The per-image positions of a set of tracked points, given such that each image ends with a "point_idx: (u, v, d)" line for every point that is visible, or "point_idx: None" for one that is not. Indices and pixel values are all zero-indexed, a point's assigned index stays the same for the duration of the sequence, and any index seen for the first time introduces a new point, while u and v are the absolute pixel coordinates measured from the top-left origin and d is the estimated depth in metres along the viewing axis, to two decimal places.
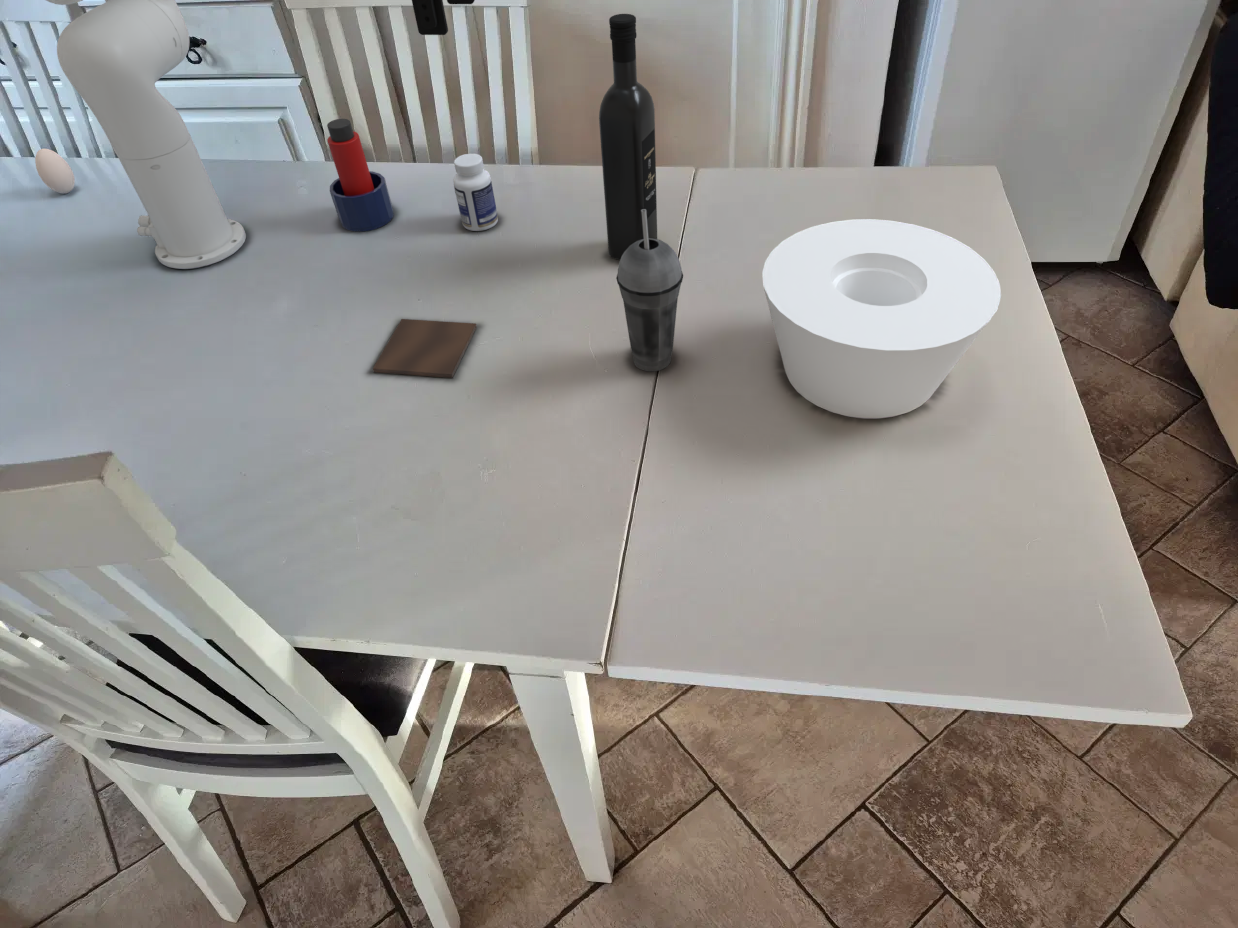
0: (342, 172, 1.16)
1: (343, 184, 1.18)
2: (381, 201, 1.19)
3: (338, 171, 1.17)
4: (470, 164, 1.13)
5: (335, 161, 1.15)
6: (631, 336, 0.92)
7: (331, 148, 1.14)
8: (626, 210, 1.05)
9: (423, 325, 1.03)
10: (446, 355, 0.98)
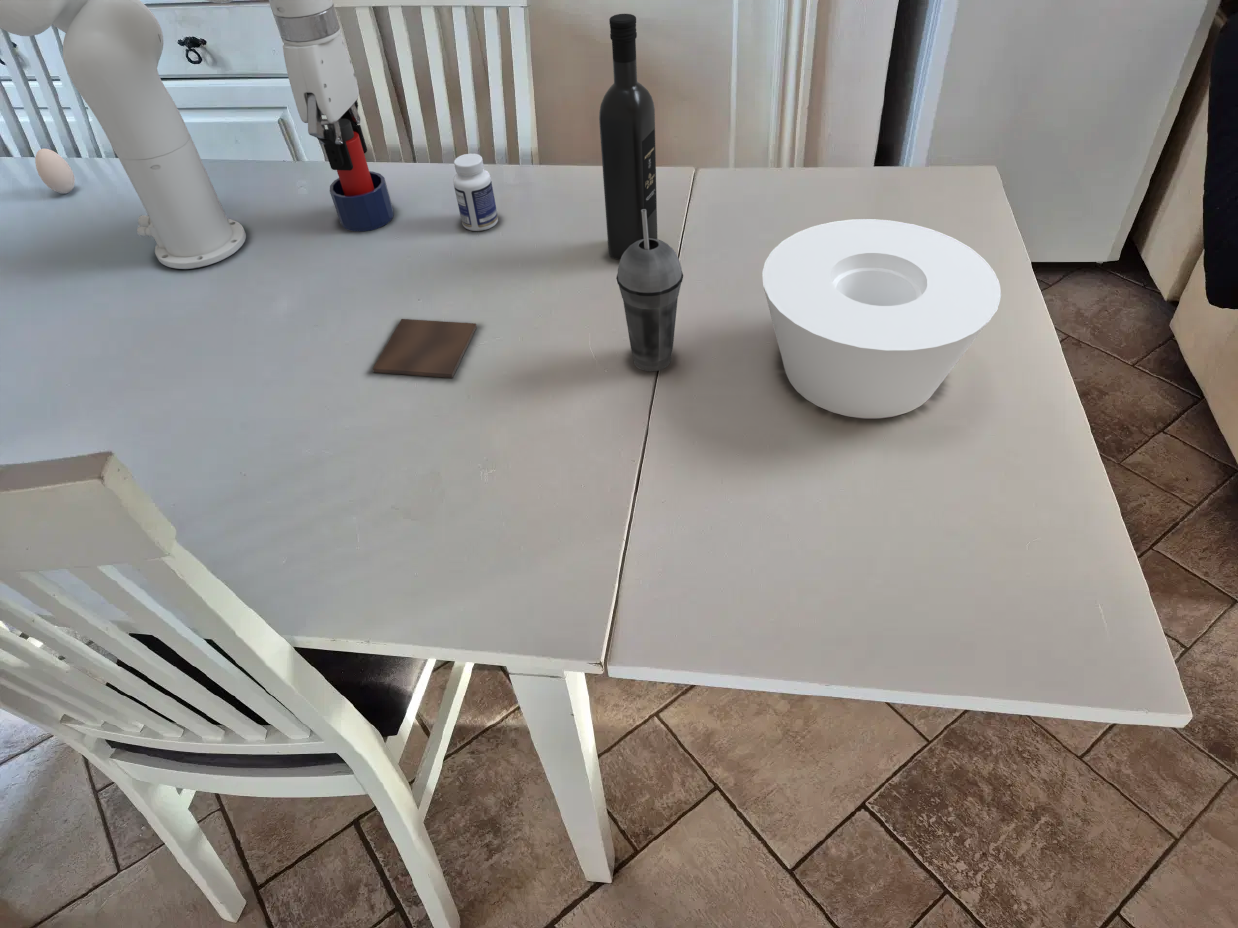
0: (342, 172, 1.16)
1: (343, 184, 1.18)
2: (381, 201, 1.19)
3: (338, 171, 1.17)
4: (470, 164, 1.13)
5: None
6: (631, 336, 0.92)
7: None
8: (626, 210, 1.05)
9: (423, 325, 1.03)
10: (446, 355, 0.98)
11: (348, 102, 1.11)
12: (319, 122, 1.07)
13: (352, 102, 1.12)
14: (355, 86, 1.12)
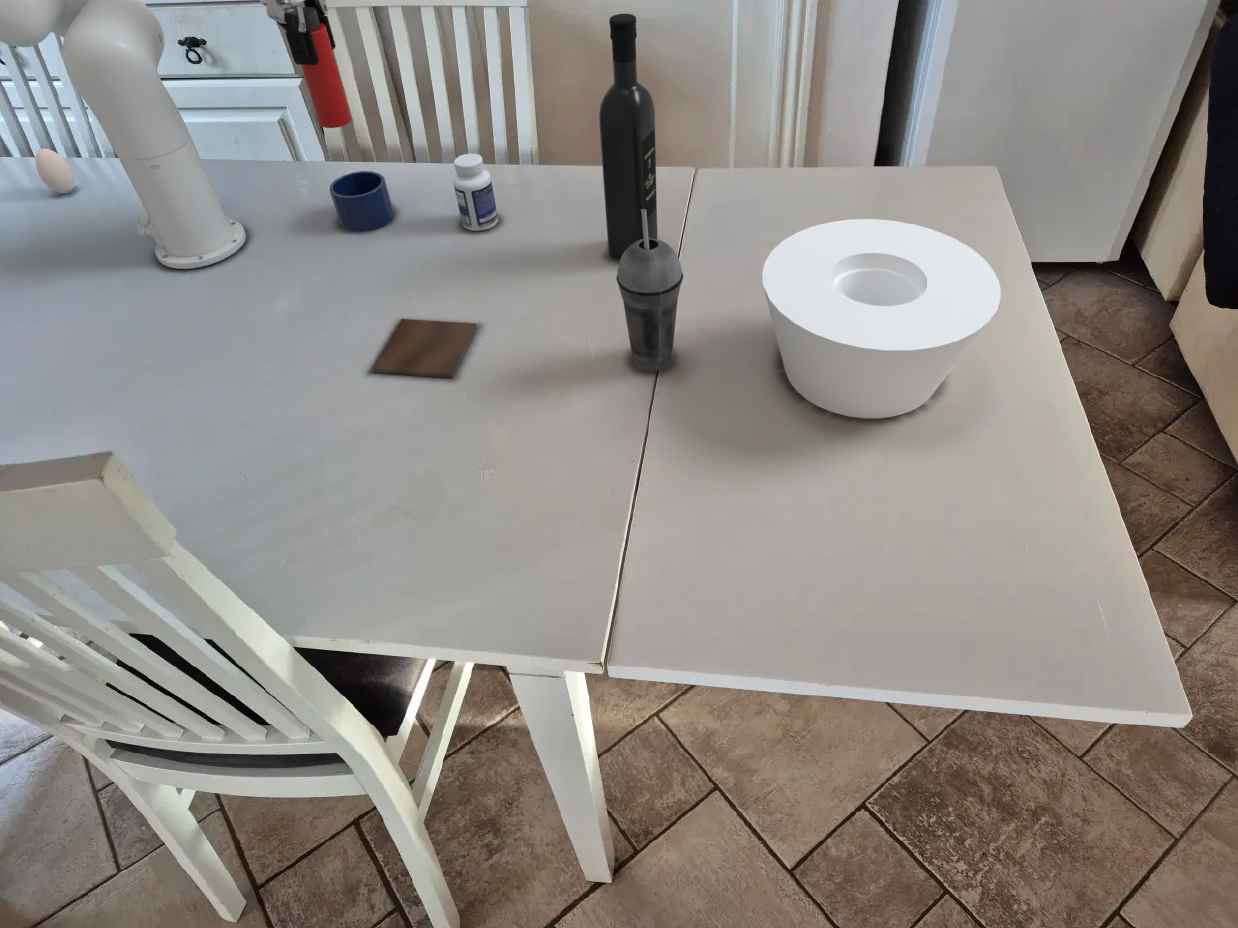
0: (307, 67, 1.05)
1: (309, 83, 1.07)
2: (381, 201, 1.19)
3: (303, 67, 1.06)
4: (470, 164, 1.13)
5: None
6: (631, 336, 0.92)
7: None
8: (626, 210, 1.05)
9: (423, 325, 1.03)
10: (446, 355, 0.98)
11: None
12: (279, 2, 0.97)
13: None
14: None
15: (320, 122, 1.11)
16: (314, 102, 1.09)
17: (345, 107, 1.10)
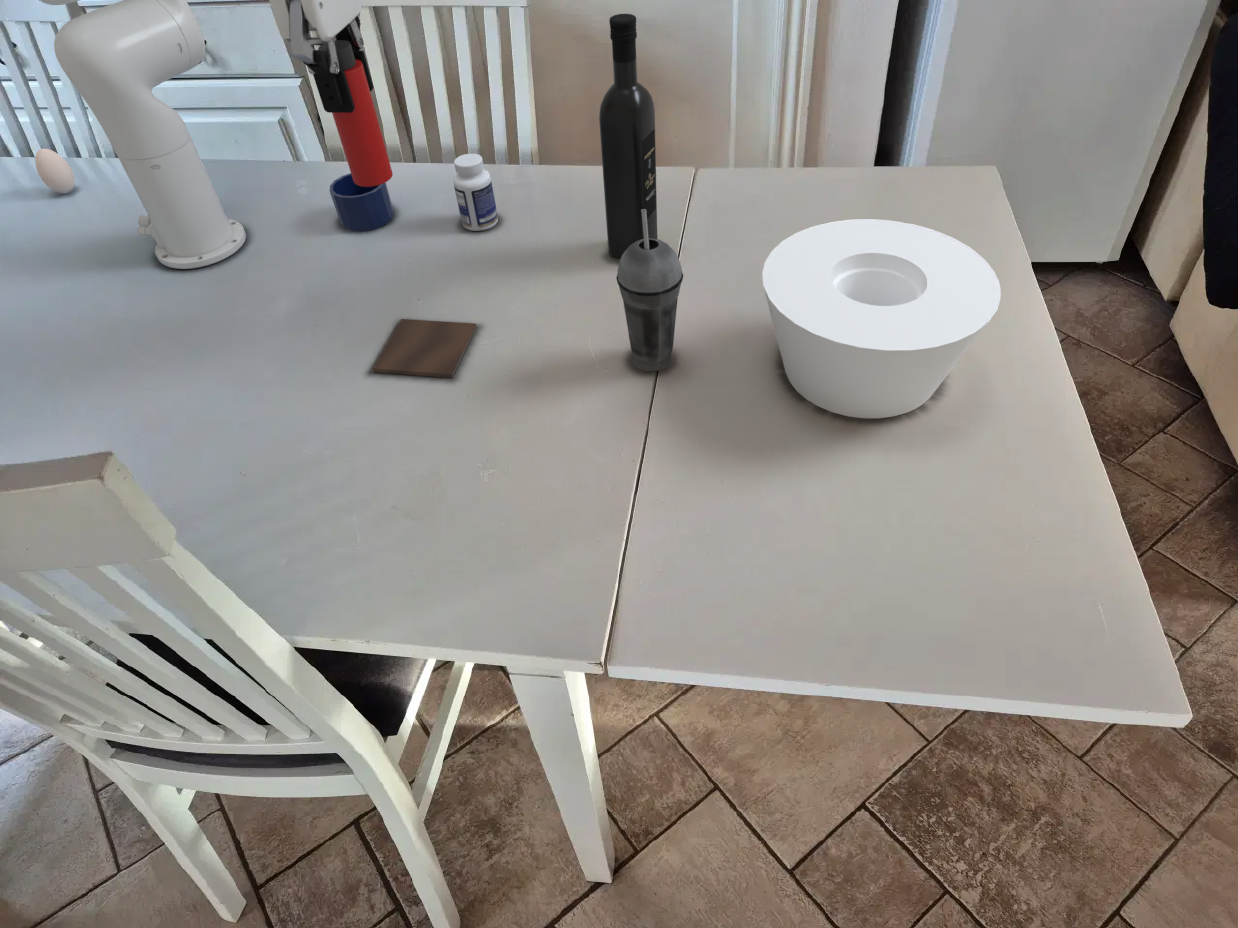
0: (340, 115, 0.84)
1: (342, 133, 0.86)
2: (381, 201, 1.19)
3: (335, 115, 0.85)
4: (470, 164, 1.13)
5: None
6: (631, 336, 0.92)
7: None
8: (626, 210, 1.05)
9: (423, 325, 1.03)
10: (446, 355, 0.98)
11: (347, 14, 0.79)
12: (307, 38, 0.76)
13: (352, 16, 0.81)
14: None
15: (355, 180, 0.90)
16: (348, 156, 0.88)
17: (385, 161, 0.90)
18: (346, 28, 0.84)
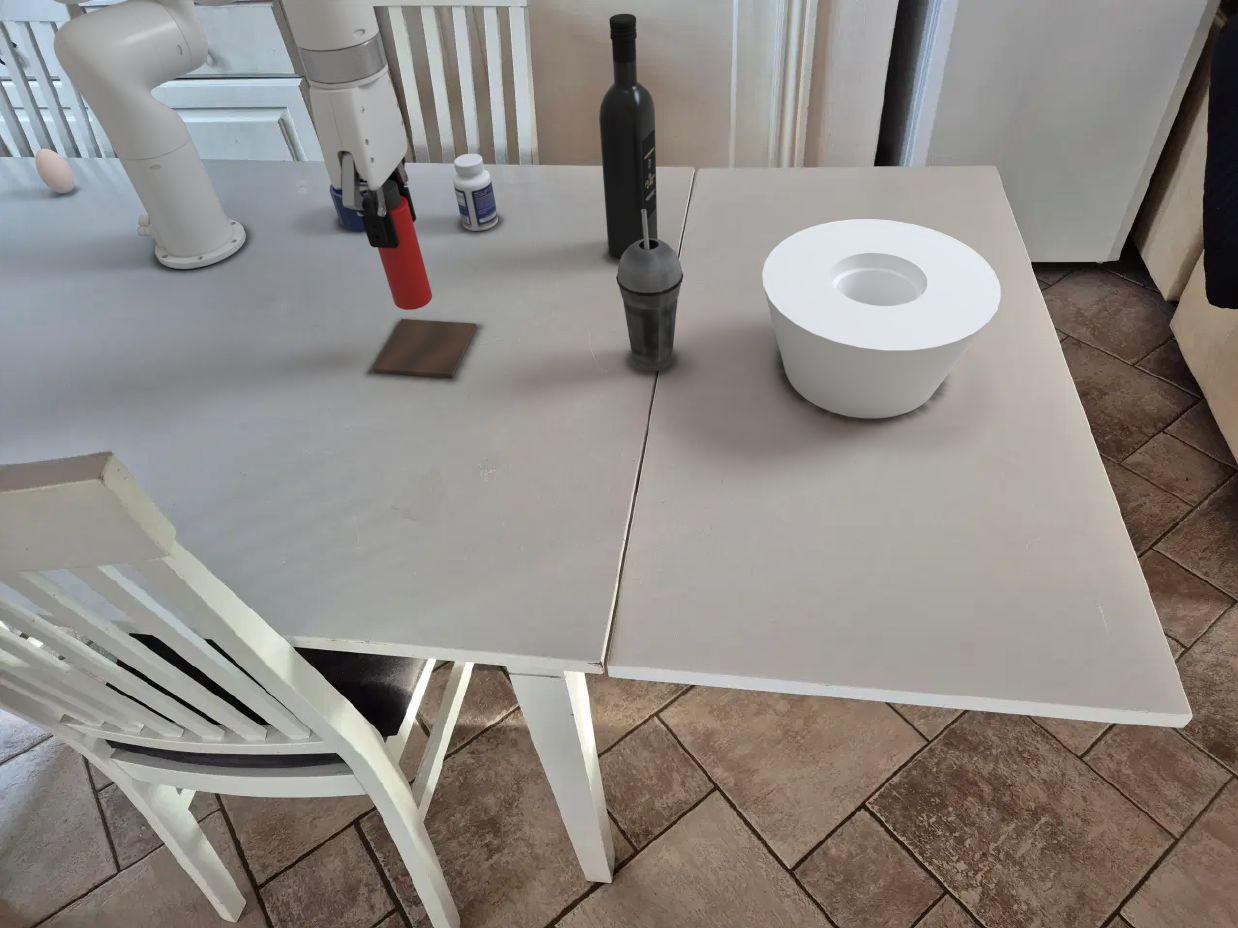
0: (385, 249, 0.88)
1: (385, 263, 0.89)
2: None
3: None
4: (470, 164, 1.13)
5: None
6: (631, 336, 0.92)
7: None
8: (626, 210, 1.05)
9: (423, 325, 1.03)
10: (446, 355, 0.98)
11: (395, 160, 0.83)
12: (357, 190, 0.79)
13: (399, 159, 0.84)
14: (403, 138, 0.84)
15: (396, 303, 0.93)
16: (390, 283, 0.91)
17: (426, 285, 0.93)
18: None
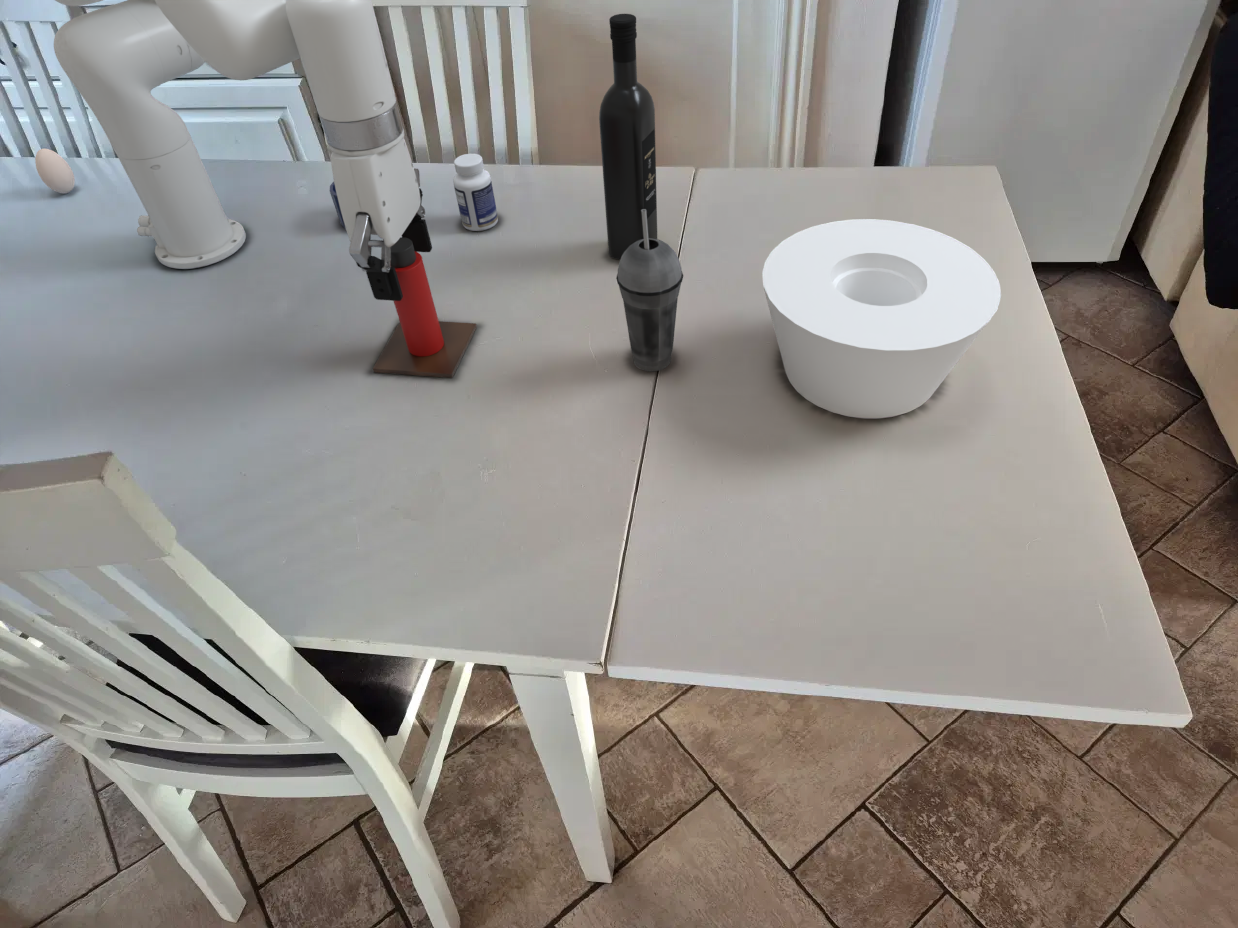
0: (400, 301, 0.93)
1: (400, 314, 0.94)
2: None
3: None
4: (470, 164, 1.13)
5: None
6: (631, 336, 0.92)
7: None
8: (626, 210, 1.05)
9: None
10: (446, 355, 0.98)
11: (409, 216, 0.87)
12: (366, 242, 0.82)
13: (413, 214, 0.89)
14: (416, 195, 0.89)
15: (410, 349, 0.98)
16: (405, 332, 0.96)
17: (438, 334, 0.98)
18: None
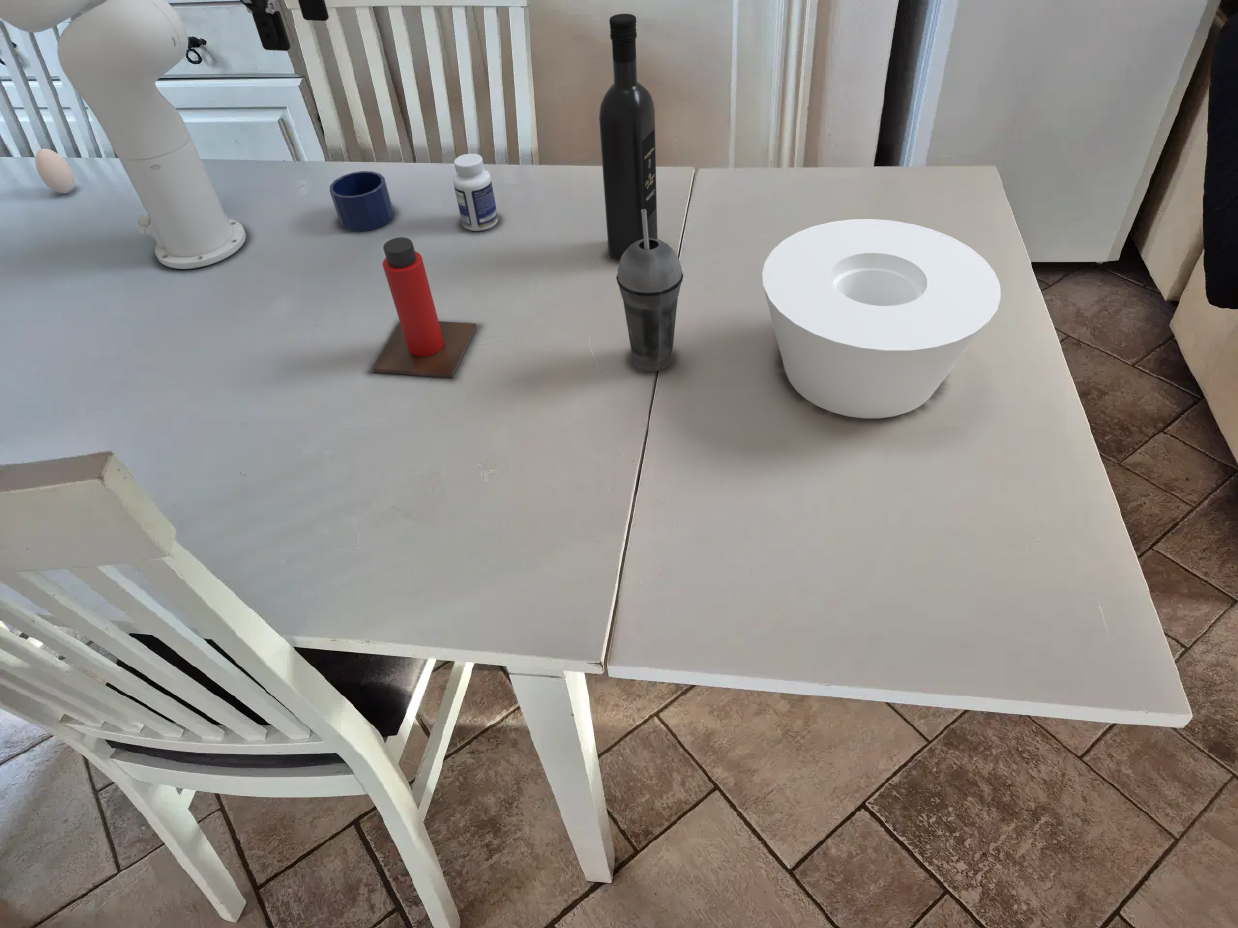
0: (400, 301, 0.93)
1: (400, 314, 0.94)
2: (381, 201, 1.19)
3: (395, 300, 0.93)
4: (470, 164, 1.13)
5: (392, 289, 0.92)
6: (631, 336, 0.92)
7: (388, 274, 0.91)
8: (626, 210, 1.05)
9: None
10: (446, 355, 0.98)
11: None
12: None
13: None
14: None
15: (410, 349, 0.98)
16: (405, 332, 0.96)
17: (438, 334, 0.98)
18: None
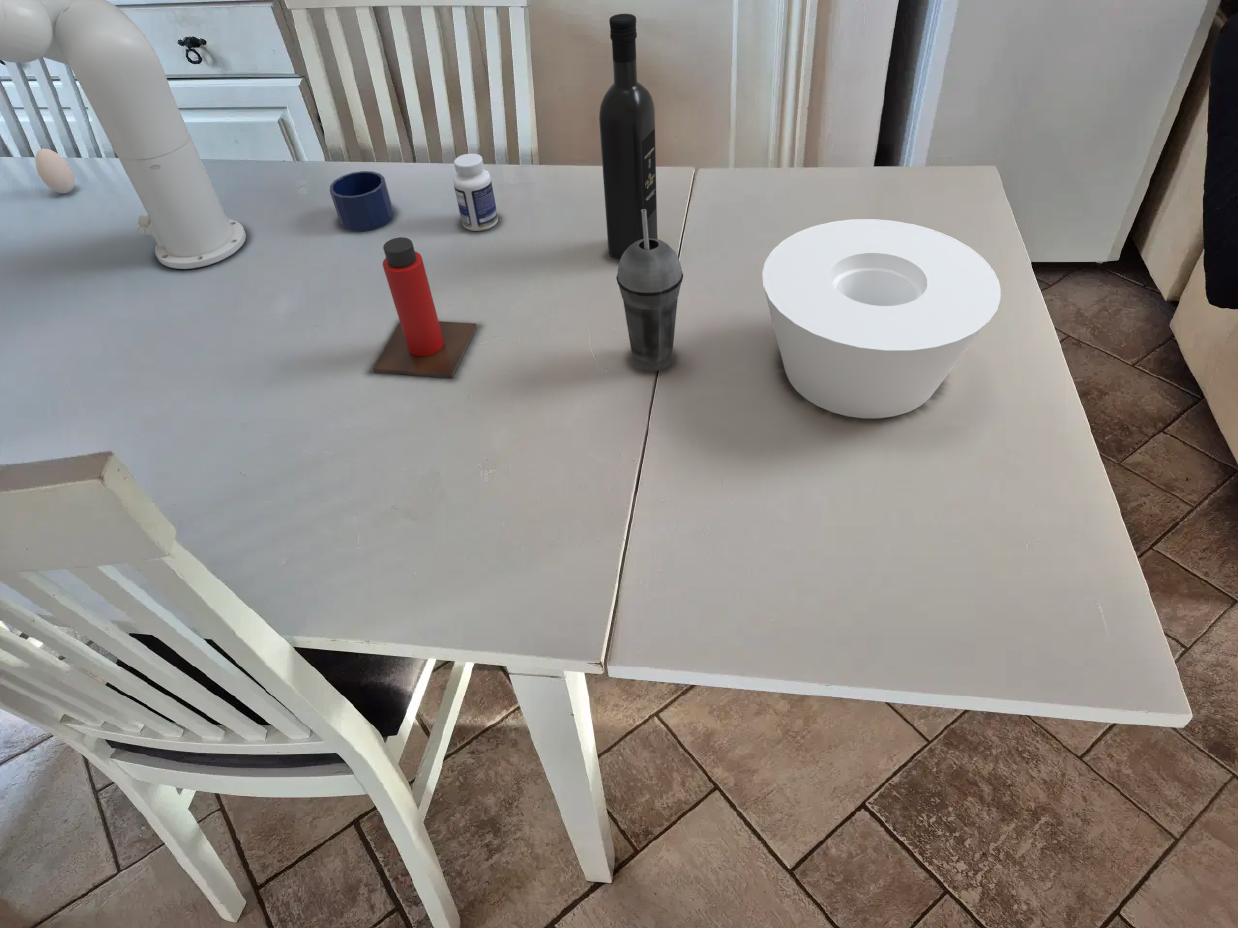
0: (400, 301, 0.93)
1: (400, 314, 0.94)
2: (381, 201, 1.19)
3: (395, 300, 0.93)
4: (470, 164, 1.13)
5: (392, 289, 0.92)
6: (631, 336, 0.92)
7: (388, 274, 0.91)
8: (626, 210, 1.05)
9: None
10: (446, 355, 0.98)
11: None
12: None
13: None
14: None
15: (410, 349, 0.98)
16: (405, 332, 0.96)
17: (438, 334, 0.98)
18: None
